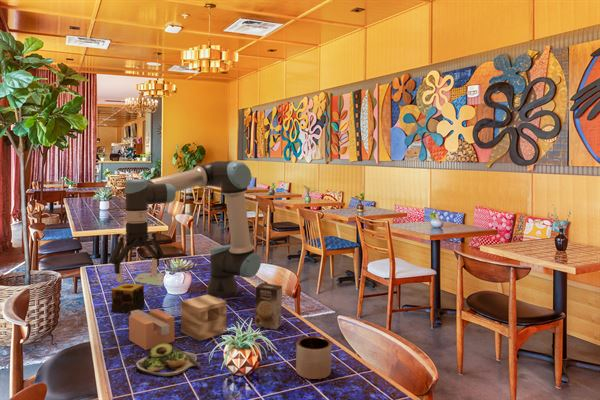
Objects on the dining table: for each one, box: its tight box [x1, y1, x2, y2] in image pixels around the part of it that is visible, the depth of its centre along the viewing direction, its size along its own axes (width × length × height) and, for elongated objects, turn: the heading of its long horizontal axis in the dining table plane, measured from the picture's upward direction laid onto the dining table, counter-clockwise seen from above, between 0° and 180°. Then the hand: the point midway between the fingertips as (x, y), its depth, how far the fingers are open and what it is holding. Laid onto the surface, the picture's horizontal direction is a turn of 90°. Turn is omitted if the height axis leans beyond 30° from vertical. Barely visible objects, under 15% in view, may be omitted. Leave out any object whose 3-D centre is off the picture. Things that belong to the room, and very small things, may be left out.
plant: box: [133, 262, 165, 286], centre depth 247 cm, size 25×21×9 cm
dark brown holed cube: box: [111, 283, 146, 315], centre depth 198 cm, size 10×10×10 cm
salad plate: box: [135, 343, 201, 377], centre depth 147 cm, size 19×18×5 cm
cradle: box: [128, 308, 176, 351], centre depth 165 cm, size 11×12×9 cm
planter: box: [295, 335, 332, 380], centre depth 143 cm, size 11×11×10 cm
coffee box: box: [254, 282, 283, 330], centre depth 181 cm, size 9×6×16 cm
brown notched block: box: [180, 293, 227, 342], centre depth 174 cm, size 12×12×12 cm
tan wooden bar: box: [130, 309, 170, 335], centre depth 166 cm, size 3×22×3 cm, turn 47°
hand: (137, 278), depth 170 cm, fingers open, 13 cm apart
